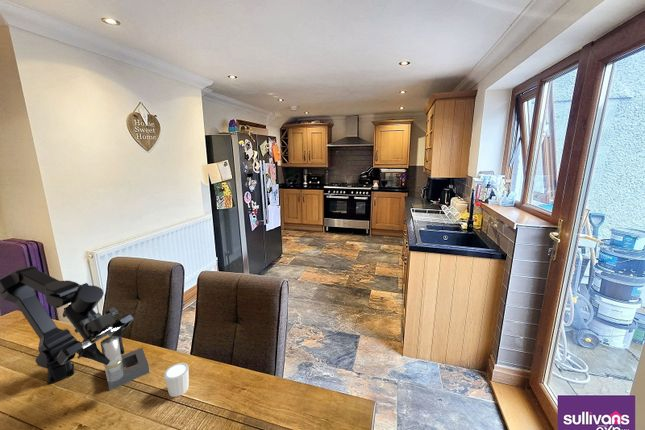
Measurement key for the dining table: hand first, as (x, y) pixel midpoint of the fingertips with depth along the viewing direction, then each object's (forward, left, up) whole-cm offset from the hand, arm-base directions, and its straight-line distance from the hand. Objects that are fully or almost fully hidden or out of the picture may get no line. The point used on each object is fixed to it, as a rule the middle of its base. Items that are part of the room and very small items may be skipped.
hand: (115, 358), depth 81 cm
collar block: (-11, +3, -13) cm, 18 cm away
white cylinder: (+9, +14, -14) cm, 21 cm away
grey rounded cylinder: (-1, -1, -7) cm, 7 cm away
